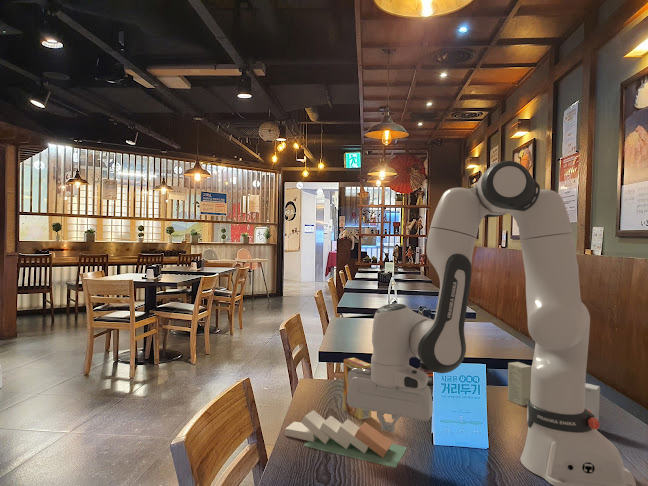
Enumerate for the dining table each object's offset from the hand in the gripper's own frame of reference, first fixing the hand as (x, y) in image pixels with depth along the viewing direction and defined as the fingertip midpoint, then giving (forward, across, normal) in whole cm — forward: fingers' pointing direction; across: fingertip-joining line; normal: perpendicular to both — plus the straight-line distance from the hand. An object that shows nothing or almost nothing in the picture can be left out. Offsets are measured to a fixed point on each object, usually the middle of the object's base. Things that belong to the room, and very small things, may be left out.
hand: (387, 431), depth 108 cm
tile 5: (+4, -18, 0) cm, 19 cm away
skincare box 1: (+6, +28, +54) cm, 61 cm away
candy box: (+6, -15, +20) cm, 26 cm away
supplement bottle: (+6, 0, +45) cm, 45 cm away
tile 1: (+4, 0, 0) cm, 4 cm away
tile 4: (+4, -14, 0) cm, 15 cm away
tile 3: (+4, -9, 0) cm, 10 cm away
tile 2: (+4, -4, 0) cm, 6 cm away
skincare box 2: (+6, +45, +41) cm, 61 cm away
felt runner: (+6, -8, 0) cm, 10 cm away
